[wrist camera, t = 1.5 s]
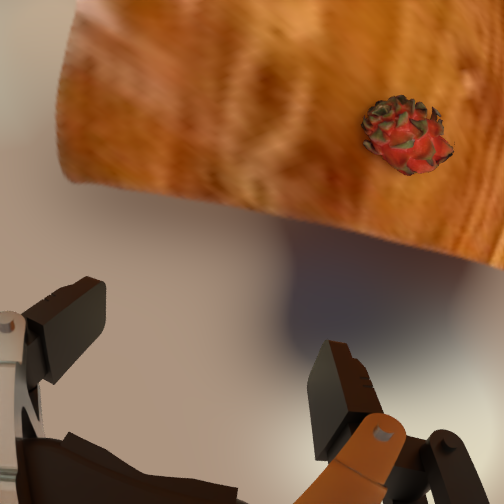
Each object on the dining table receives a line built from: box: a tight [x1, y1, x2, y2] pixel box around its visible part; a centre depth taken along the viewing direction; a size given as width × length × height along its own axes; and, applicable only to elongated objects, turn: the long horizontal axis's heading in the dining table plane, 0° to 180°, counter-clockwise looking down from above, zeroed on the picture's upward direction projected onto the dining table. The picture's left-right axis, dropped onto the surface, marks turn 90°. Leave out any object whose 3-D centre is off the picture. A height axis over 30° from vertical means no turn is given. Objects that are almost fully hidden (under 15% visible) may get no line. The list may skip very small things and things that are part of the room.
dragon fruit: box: [361, 95, 455, 176], centre depth 27 cm, size 8×8×12 cm
